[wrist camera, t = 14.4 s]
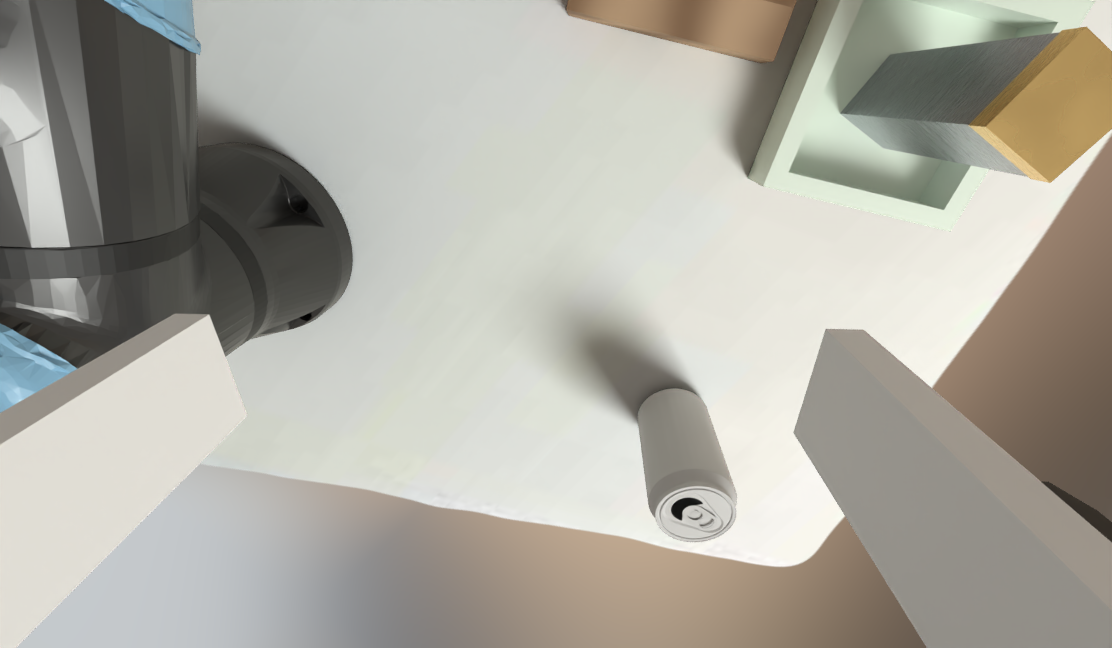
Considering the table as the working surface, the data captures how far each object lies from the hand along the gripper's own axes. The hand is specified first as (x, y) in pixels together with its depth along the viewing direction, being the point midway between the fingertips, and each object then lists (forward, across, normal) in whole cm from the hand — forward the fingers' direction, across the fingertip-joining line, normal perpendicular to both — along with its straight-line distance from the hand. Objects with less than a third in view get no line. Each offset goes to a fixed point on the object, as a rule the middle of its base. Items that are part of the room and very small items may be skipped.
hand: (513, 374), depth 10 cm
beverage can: (+27, +11, -22) cm, 36 cm away
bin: (+26, +22, +5) cm, 34 cm away
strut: (+26, +21, +5) cm, 34 cm away
